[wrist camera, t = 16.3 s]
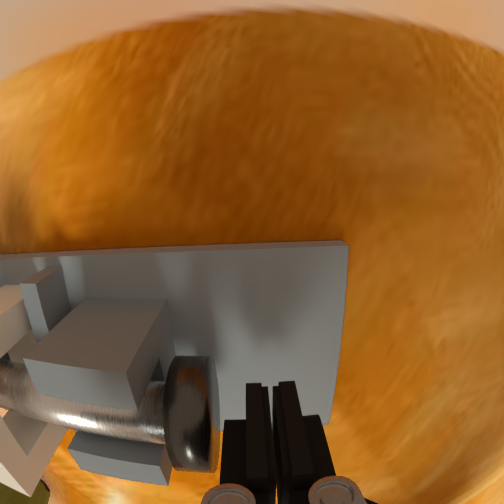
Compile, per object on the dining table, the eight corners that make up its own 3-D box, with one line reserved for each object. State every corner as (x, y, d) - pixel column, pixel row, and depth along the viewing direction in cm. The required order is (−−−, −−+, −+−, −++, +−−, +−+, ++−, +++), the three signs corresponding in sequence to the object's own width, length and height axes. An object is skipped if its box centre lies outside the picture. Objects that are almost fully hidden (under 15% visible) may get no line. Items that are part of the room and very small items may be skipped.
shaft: (212, 333, 11) (197, 415, 7) (222, 415, 12) (216, 494, 8) (-27, 316, 11) (-76, 353, 7) (-1, 382, 12) (-38, 424, 8)
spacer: (43, 285, 12) (-60, 362, 5) (82, 403, 14) (30, 497, 7) (5, 284, 12) (-90, 348, 5) (45, 396, 14) (-11, 476, 7)
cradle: (341, 240, 13) (409, 295, 7) (325, 412, 16) (350, 498, 10) (-28, 256, 13) (-97, 289, 7) (17, 390, 15) (-25, 442, 10)
